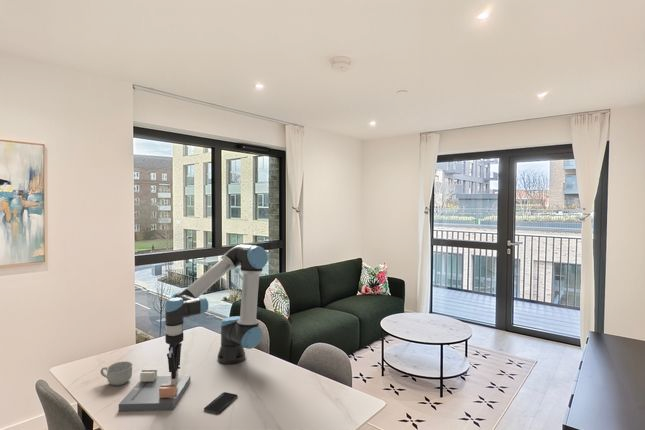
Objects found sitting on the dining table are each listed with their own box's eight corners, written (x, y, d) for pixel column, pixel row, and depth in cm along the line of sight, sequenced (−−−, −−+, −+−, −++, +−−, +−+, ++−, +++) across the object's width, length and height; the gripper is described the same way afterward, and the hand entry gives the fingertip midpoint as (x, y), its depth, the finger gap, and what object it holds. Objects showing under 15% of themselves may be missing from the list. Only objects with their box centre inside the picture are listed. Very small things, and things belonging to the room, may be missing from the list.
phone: (202, 409, 148) (223, 391, 162) (202, 411, 148) (223, 394, 162) (218, 413, 146) (238, 394, 160) (218, 415, 146) (238, 397, 160)
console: (190, 381, 172) (190, 375, 172) (173, 409, 149) (173, 402, 148) (143, 382, 171) (143, 376, 171) (118, 411, 147) (118, 403, 147)
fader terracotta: (176, 392, 156) (176, 382, 156) (173, 397, 152) (173, 387, 152) (162, 392, 155) (162, 382, 155) (159, 397, 151) (159, 387, 151)
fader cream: (157, 377, 169) (157, 368, 169) (153, 381, 165) (153, 372, 165) (143, 377, 169) (143, 368, 169) (140, 381, 165) (140, 372, 165)
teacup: (137, 377, 176) (137, 361, 175) (122, 389, 165) (122, 371, 165) (110, 376, 177) (110, 360, 177) (94, 387, 166) (94, 370, 166)
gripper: (170, 328, 166) (171, 377, 167) (160, 338, 153) (160, 392, 154) (187, 327, 167) (187, 377, 168) (178, 338, 154) (178, 391, 155)
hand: (174, 384), depth 161 cm, fingers closed
